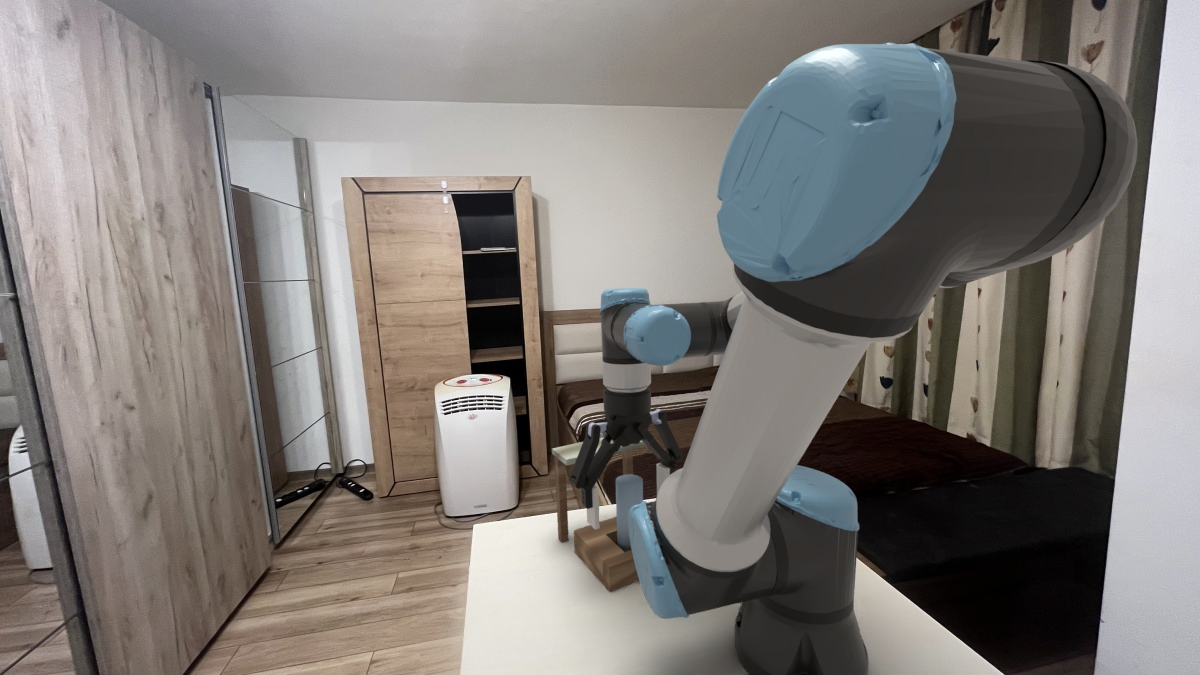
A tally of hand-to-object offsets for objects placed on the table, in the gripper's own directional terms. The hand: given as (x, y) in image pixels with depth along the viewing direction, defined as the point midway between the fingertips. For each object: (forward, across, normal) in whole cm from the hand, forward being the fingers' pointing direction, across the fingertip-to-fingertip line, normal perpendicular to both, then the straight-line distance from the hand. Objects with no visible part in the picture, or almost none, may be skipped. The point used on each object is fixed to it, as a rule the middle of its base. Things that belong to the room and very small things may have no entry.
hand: (629, 513), depth 77 cm
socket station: (+8, 0, -4) cm, 9 cm away
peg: (+8, 0, 0) cm, 8 cm away
